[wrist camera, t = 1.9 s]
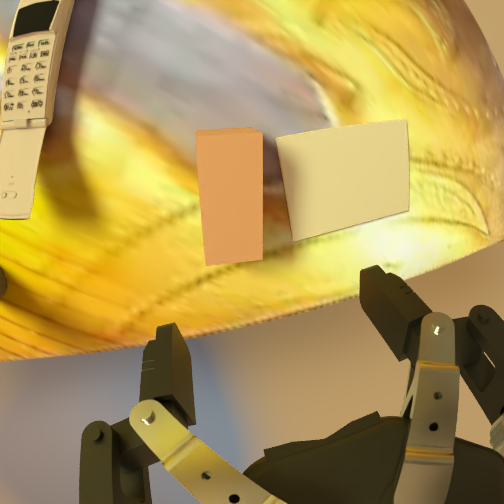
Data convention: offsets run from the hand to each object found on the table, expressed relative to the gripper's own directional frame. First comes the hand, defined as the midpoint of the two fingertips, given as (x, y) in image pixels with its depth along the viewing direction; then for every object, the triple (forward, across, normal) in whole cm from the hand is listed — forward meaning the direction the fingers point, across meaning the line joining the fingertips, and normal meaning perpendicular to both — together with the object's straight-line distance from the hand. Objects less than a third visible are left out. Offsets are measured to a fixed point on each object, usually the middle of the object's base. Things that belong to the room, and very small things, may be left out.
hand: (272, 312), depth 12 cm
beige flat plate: (+18, -13, +2) cm, 22 cm away
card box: (+18, 0, 0) cm, 18 cm away
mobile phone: (+19, +15, -17) cm, 29 cm away
